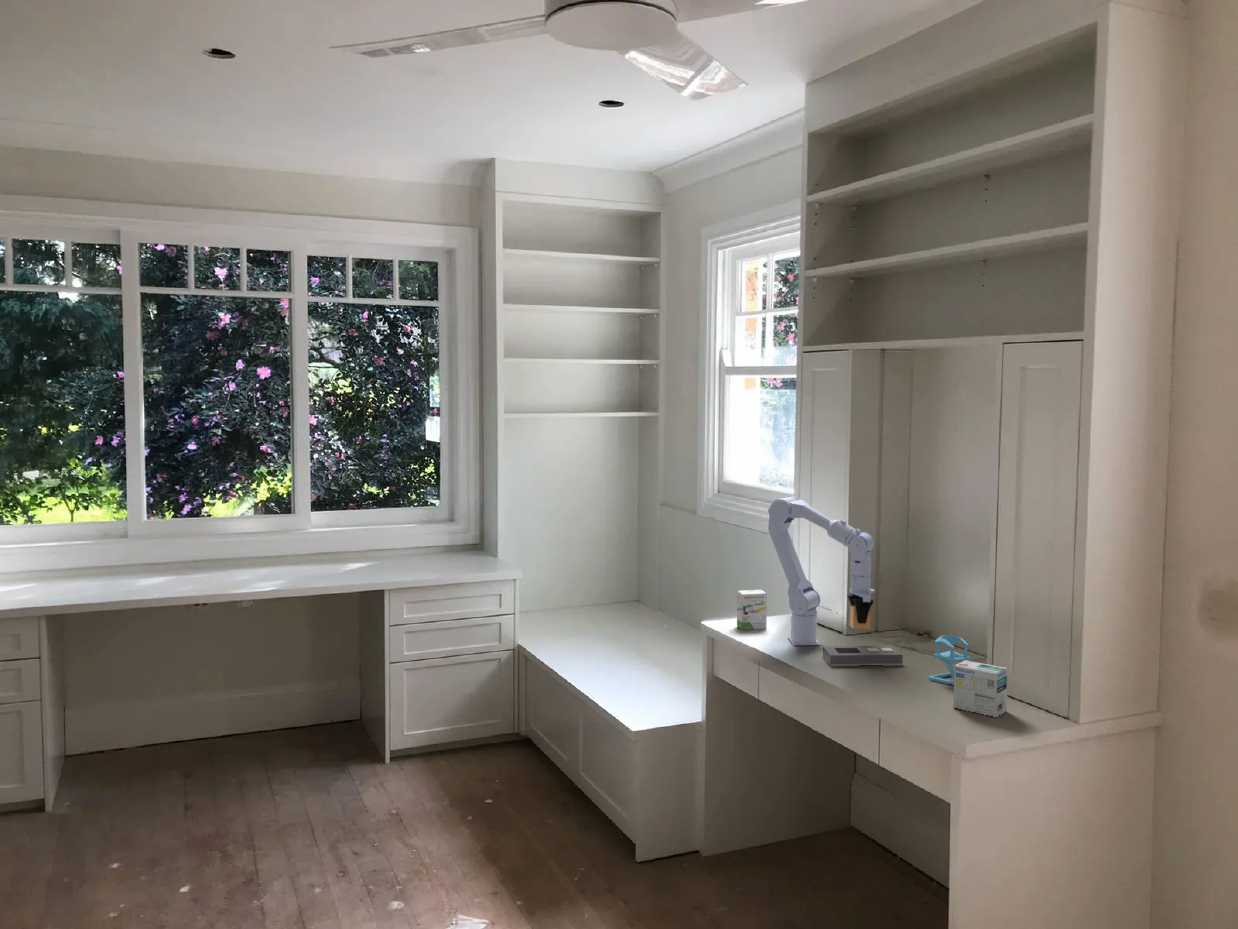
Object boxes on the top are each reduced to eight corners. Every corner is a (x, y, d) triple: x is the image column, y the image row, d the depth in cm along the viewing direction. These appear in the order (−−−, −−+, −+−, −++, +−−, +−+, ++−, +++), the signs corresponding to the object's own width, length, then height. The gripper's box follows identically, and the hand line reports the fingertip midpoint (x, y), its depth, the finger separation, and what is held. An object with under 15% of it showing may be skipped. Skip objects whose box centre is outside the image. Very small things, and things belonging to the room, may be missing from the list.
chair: (951, 688, 253) (953, 642, 251) (928, 679, 260) (929, 635, 259) (974, 684, 256) (975, 639, 255) (949, 675, 263) (951, 631, 262)
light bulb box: (1007, 711, 235) (1008, 667, 234) (996, 719, 230) (998, 673, 229) (963, 702, 242) (964, 658, 241) (952, 709, 237) (953, 664, 236)
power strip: (822, 656, 282) (822, 645, 282) (892, 655, 282) (892, 644, 282) (830, 666, 273) (830, 654, 272) (902, 665, 273) (902, 654, 273)
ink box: (741, 630, 312) (741, 593, 310) (736, 626, 316) (736, 590, 315) (767, 629, 313) (767, 592, 312) (761, 625, 318) (762, 589, 317)
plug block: (849, 625, 289) (850, 605, 288) (866, 625, 289) (867, 605, 288) (853, 629, 285) (853, 608, 284) (870, 628, 285) (870, 608, 284)
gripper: (881, 579, 278) (880, 627, 280) (867, 570, 293) (866, 615, 294) (856, 580, 278) (855, 627, 279) (843, 570, 293) (843, 615, 294)
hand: (859, 621), depth 287 cm, fingers closed on plug block, 4 cm apart
